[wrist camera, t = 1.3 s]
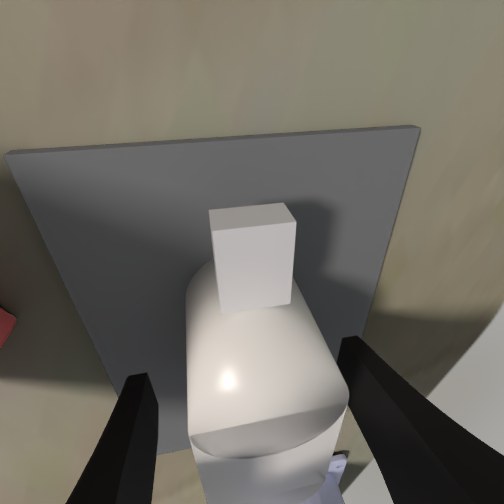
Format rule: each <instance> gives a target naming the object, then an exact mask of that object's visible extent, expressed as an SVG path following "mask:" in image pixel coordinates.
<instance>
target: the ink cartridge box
mask: <svg viewBox="0 0 504 504" xmlns="http://www.w3.org/2000/svg"><path fill="white" fill-rule="evenodd" d="M16 321H17V320H16V318H15V316H13V315H11V314H9V313H7V312H6V311H5V310H3V309H2V308H0V349H1V347H2V346H3V344H4V343H5V341H6V339H7V338H8V336H9V335H10V333H11V331H12V330H13V328H14V326H15V325H16Z"/></svg>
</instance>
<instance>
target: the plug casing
mask: <svg viewBox="0 0 504 504" xmlns="http://www.w3.org/2000/svg"><path fill="white" fill-rule="evenodd" d="M209 218H210V227H211V236H212V246H213V255H214V259H212V260H210V261H209V262H207V263H206V264H204V265H203V266H202V267H201V268H200V269H199V270H198V271H197V272H196V273H195V274H194V275H193V277H192V279H191V280H190V282H189V284H188V287H187V290H186V298H185V301H186V355H187V409H188V435H189V439H190V443H191V446H192V450H193V453H194V457H195V461H196V464H197V468H198V472H199V475H200V479H201V482H202V486H203V490H204V493H205V497H206V500H207V504H300V503H302V502H303V501H305V500H307V499H308V498H310V497H311V496H313V495H314V494H315V493H316V492H318V491H319V490H320V488H321V487H322V486H323V484H324V482H325V479H326V475H327V472H328V469H329V465H330V462H331V459H332V455H333V452H334V448H335V445H336V442H337V438H338V435H339V432H340V428H341V425H342V421H343V418H344V415H345V411H346V408H347V405H348V400H349V390H348V386H347V384H346V382H345V380H344V378H343V376H342V374H341V372H340V370H339V368H338V366H337V364H336V362H335V360H334V358H333V356H332V354H331V352H330V350H329V348H328V346H327V344H326V342H325V340H324V338H323V336H322V334H321V332H320V330H319V328H318V326H317V324H316V322H315V320H314V318H313V316H312V314H311V312H310V310H309V308H308V306H307V304H306V302H305V300H304V298H303V296H302V294H301V292H300V290H299V288H298V286H297V284H296V281H295V279H294V277H293V262H294V248H295V235H296V220H295V219H294V217H293V216H292V214H291V213H290V211H289V210H288V208H287V207H286V205H285V204H284V202H283V203H273V204H263V205H253V206H243V207H233V208H223V209H213V210H209Z"/></svg>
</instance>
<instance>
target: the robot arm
mask: <svg viewBox="0 0 504 504" xmlns="http://www.w3.org/2000/svg"><path fill="white" fill-rule="evenodd" d="M336 364H337V366H338V368H339V370H340V372H341V374H342V376H343V378H344V380H345V382H346V384H347V386H348V390H349V400H348V406H349V408H350V410H351V412H352V414H353V416H354V418H355V420H356V422H357V424H358V426H359V428H360V430H361V432H362V434H363V436H364V438H365V440H366V442H367V444H368V446H369V448H370V450H371V452H372V454H373V456H374V458H375V459H376V462H377V464H378V466H379V468H380V471H381V473H382V475H383V478H384V480H385V483H386V485H387V488H388V490H389V493H390V495H391V498H392V500H393V503H394V504H504V456H503V455H502V454H500V453H499V452H497V451H496V450H494V449H493V448H491V447H490V446H488V445H487V444H485V443H484V442H482V441H481V440H480V439H478V438H477V437H475V436H474V435H473V434H471V433H470V432H468V431H467V430H466V429H464V428H463V427H462V426H460V425H459V424H458V423H456V422H455V421H454V420H452V419H451V418H450V417H448V416H447V415H446V414H445V413H443V412H442V411H441V410H439V409H438V408H437V407H436V406H435V405H433V404H432V403H431V402H430V401H429V400H427V399H426V398H425V397H424V396H422V395H421V394H420V393H419V392H418V391H417V390H416V389H414V388H413V387H412V386H411V385H410V384H409V383H408V382H406V381H405V380H404V379H403V378H402V377H401V376H400V375H399V374H397V373H396V372H395V371H394V370H393V369H392V368H391V367H390V366H389V365H388V364H387V363H386V362H385V361H384V360H382V359H381V358H380V357H379V356H378V355H377V354H376V353H375V352H374V351H373V350H372V349H371V348H370V347H369V346H368V345H367V344H366V343H365V342H364V341H363V340H362V339H361V338H360V337H358V336H357V335H356V336H350V337H345V338H342V341H341V345H340V349H339V354H338V358H337V363H336ZM158 428H159V404H158V401H157V399H156V396H155V393H154V390H153V387H152V384H151V382H150V379H149V376H148V373H147V372H146V373H140V374H135V375H129V376H128V377H127V378H126V380H125V383H124V386H123V388H122V391H121V393H120V396H119V398H118V401H117V403H116V405H115V408H114V410H113V412H112V414H111V417H110V419H109V421H108V423H107V425H106V427H105V429H104V431H103V434H102V436H101V438H100V440H99V442H98V444H97V446H96V448H95V450H94V452H93V454H92V456H91V458H90V460H89V462H88V464H87V465H86V467H85V469H84V471H83V473H82V475H81V477H80V479H79V480H78V482H77V484H76V486H75V488H74V490H73V491H72V493H71V495H70V497H69V498H68V500H67V502H66V504H151V501H152V491H153V482H154V473H155V464H156V454H157V445H158ZM346 463H347V459H346V456H345V455H344V454H339V455H335V456H332V459H331V462H330V465H329V469H328V472H327V475H326V479H325V482H324V484H323V486H322V487H321V488H320V490H319V491H318V492H316V493H315V494H314V495H313V496H311V497H310V498H308V499H307V500H305V501H303V502H302V503H300V504H345V503H344V500H343V498H342V495H341V492H340V489H339V487H338V485H339V482H340V479H341V477H342V474H343V471H344V468H345V466H346Z"/></svg>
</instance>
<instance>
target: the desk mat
mask: <svg viewBox="0 0 504 504" xmlns="http://www.w3.org/2000/svg"><path fill="white" fill-rule="evenodd" d="M420 129H421V128H420V127H417V126H414V125H403V126H387V127H372V128H356V129H340V130H325V131H309V132H294V133H278V134H262V135H247V136H231V137H216V138H200V139H184V140H169V141H153V142H138V143H122V144H106V145H91V146H75V147H60V148H44V149H28V150H13V151H9V152H8V153H6V154H4V155H3V156H4V158H5V160H6V162H7V164H8V167H9V169H10V171H11V173H12V175H13V177H14V179H15V181H16V183H17V185H18V188H19V190H20V192H21V194H22V196H23V198H24V200H25V202H26V204H27V206H28V209H29V211H30V213H31V215H32V217H33V219H34V221H35V223H36V225H37V228H38V230H39V232H40V234H41V236H42V238H43V240H44V242H45V244H46V246H47V249H48V251H49V253H50V255H51V257H52V259H53V261H54V263H55V265H56V267H57V270H58V272H59V274H60V276H61V278H62V280H63V282H64V284H65V286H66V288H67V291H68V293H69V295H70V297H71V299H72V301H73V303H74V305H75V307H76V309H77V312H78V314H79V316H80V318H81V320H82V322H83V324H84V326H85V328H86V330H87V333H88V335H89V337H90V339H91V341H92V343H93V345H94V347H95V349H96V351H97V354H98V356H99V358H100V360H101V362H102V364H103V366H104V368H105V370H106V372H107V375H108V377H109V379H110V381H111V383H112V385H113V387H114V389H115V391H116V393H117V396H118V398H119V396H120V393H121V391H122V388H123V386H124V383H125V380H126V378H127V377H128V376H129V375H135V374H140V373H146V372H147V373H148V376H149V379H150V382H151V384H152V387H153V390H154V393H155V396H156V399H157V401H158V404H159V428H158V445H157V454H156V455H161V454H165V453H170V452H174V451H179V450H184V449H188V448H192V446H191V443H190V439H189V435H188V409H187V355H186V301H185V298H186V290H187V287H188V284H189V282H190V280H191V279H192V277H193V275H194V274H195V273H196V272H197V271H198V270H199V269H200V268H201V267H202V266H203V265H204V264H206V263H207V262H209V261H210V260H212V259H214V255H213V246H212V236H211V227H210V218H209V210H213V209H223V208H233V207H243V206H253V205H263V204H273V203H283V202H284V204H285V205H286V207H287V208H288V210H289V211H290V213H291V214H292V216H293V217H294V219H295V220H296V235H295V248H294V262H293V277H294V279H295V281H296V284H297V286H298V288H299V290H300V292H301V294H302V296H303V298H304V300H305V302H306V304H307V306H308V308H309V310H310V312H311V314H312V316H313V318H314V320H315V322H316V324H317V326H318V328H319V330H320V332H321V334H322V336H323V338H324V340H325V342H326V344H327V346H328V348H329V350H330V352H331V354H332V356H333V358H334V360H335V362H336V363H337V358H338V354H339V349H340V345H341V341H342V338H345V337H350V336H356V335H357V336H358V337H360V338H361V339H362V335H363V332H364V328H365V325H366V321H367V317H368V314H369V310H370V307H371V303H372V300H373V296H374V293H375V289H376V285H377V282H378V278H379V275H380V271H381V268H382V264H383V261H384V257H385V253H386V250H387V246H388V243H389V239H390V236H391V232H392V228H393V225H394V221H395V218H396V214H397V211H398V207H399V204H400V200H401V196H402V193H403V189H404V186H405V182H406V179H407V175H408V172H409V168H410V164H411V161H412V157H413V154H414V150H415V147H416V143H417V139H418V136H419V132H420Z"/></svg>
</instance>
